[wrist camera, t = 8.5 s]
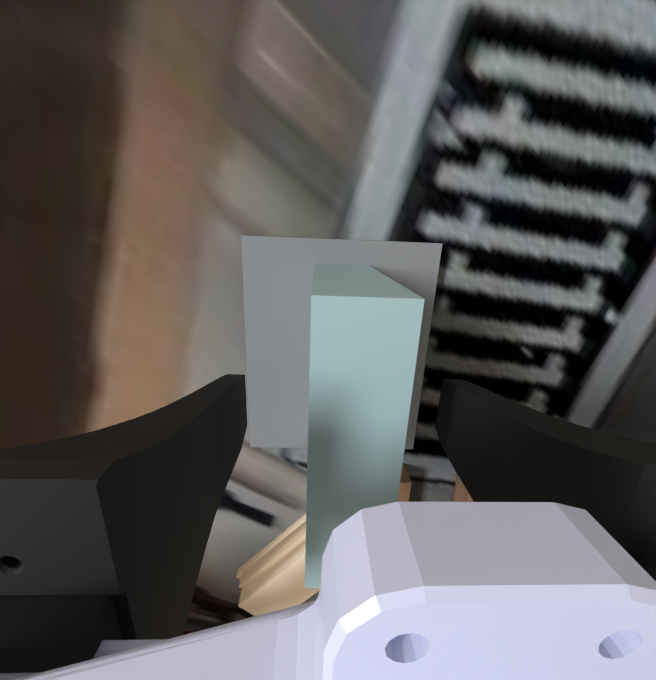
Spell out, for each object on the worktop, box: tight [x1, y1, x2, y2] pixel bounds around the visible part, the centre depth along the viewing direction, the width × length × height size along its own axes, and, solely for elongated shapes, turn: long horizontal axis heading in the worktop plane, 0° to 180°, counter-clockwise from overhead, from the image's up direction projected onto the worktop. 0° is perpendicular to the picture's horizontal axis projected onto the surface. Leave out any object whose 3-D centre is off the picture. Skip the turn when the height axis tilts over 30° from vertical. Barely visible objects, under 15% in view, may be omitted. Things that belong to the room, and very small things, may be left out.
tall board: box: [305, 263, 425, 588], centre depth 12 cm, size 2×9×8 cm, turn 178°
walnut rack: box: [397, 464, 473, 502], centre depth 20 cm, size 5×12×2 cm, turn 178°
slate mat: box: [241, 235, 442, 449], centre depth 16 cm, size 9×11×1 cm
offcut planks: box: [236, 514, 320, 616], centre depth 20 cm, size 3×10×3 cm, turn 135°
